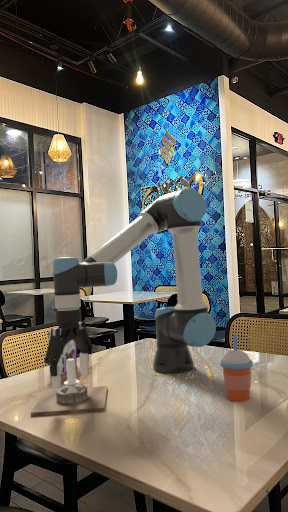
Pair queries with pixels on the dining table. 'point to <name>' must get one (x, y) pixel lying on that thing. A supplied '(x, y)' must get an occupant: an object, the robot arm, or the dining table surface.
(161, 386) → the dining table surface
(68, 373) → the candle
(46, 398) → the flange board
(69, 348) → the candy box
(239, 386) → the cup with straw
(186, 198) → the robot arm
